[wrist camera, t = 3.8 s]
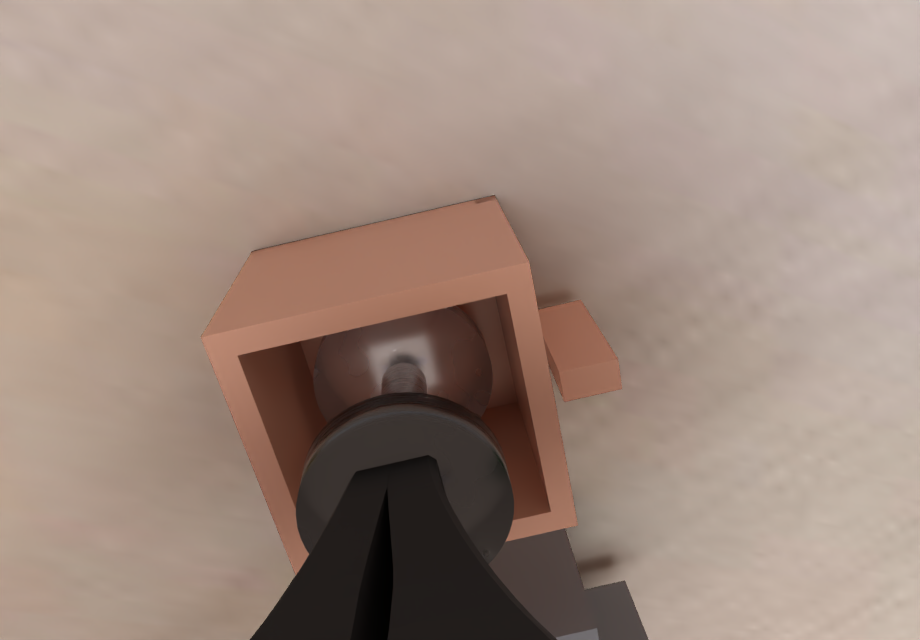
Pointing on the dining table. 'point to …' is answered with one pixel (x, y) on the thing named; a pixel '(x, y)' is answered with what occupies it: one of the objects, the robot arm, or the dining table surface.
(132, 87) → the dining table surface
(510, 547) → the gray open box
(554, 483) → the tan open box
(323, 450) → the dark metallic spool
